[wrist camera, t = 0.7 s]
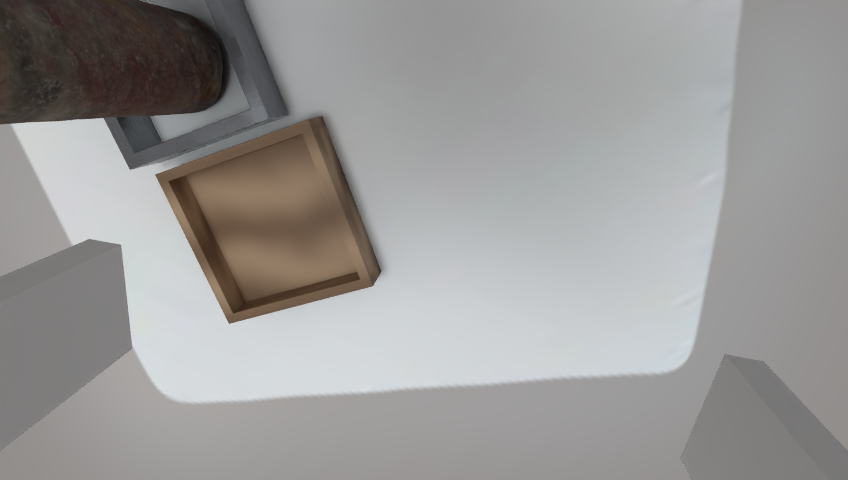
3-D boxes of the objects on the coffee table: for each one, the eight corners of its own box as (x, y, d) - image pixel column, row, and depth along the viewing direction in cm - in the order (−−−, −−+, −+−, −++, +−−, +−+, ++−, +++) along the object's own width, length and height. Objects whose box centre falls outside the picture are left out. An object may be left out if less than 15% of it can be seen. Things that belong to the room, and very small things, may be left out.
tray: (179, 168, 40) (155, 174, 37) (321, 116, 37) (307, 119, 34) (246, 307, 43) (229, 323, 40) (381, 271, 40) (372, 286, 37)
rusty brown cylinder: (147, -4, 35) (-239, -99, 17) (238, 24, 35) (-50, -40, 16) (140, 97, 38) (-200, 113, 19) (225, 124, 38) (-36, 167, 19)
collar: (84, 9, 36) (44, 1, 33) (220, -56, 34) (190, -71, 30) (159, 162, 40) (129, 169, 36) (288, 115, 37) (268, 118, 34)
